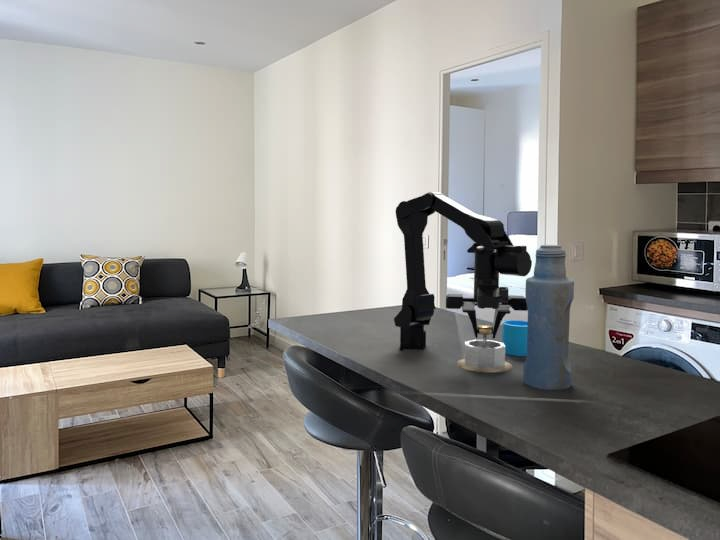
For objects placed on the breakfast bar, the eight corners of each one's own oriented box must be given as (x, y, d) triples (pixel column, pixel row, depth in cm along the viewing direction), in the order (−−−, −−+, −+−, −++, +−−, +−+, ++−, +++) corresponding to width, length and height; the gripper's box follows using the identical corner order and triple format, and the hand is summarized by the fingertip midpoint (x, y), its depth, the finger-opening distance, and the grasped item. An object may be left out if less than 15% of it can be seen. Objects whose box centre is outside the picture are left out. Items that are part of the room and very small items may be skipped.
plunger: (472, 359, 132) (473, 328, 131) (470, 353, 138) (471, 323, 137) (498, 360, 131) (499, 329, 130) (496, 354, 137) (496, 324, 136)
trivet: (457, 373, 129) (457, 370, 129) (455, 358, 142) (455, 356, 142) (515, 375, 127) (515, 373, 127) (508, 360, 140) (508, 358, 140)
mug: (539, 357, 144) (540, 325, 143) (510, 358, 142) (511, 326, 142) (517, 346, 156) (518, 317, 155) (489, 347, 154) (490, 318, 153)
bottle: (565, 395, 113) (571, 247, 110) (516, 387, 119) (521, 245, 116) (575, 383, 121) (581, 244, 118) (529, 376, 127) (533, 243, 124)
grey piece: (465, 369, 131) (466, 347, 130) (463, 355, 143) (463, 336, 142) (506, 370, 129) (506, 349, 129) (500, 357, 141) (501, 337, 141)
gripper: (446, 275, 126) (445, 344, 127) (533, 277, 123) (530, 347, 125) (446, 270, 137) (445, 333, 138) (525, 272, 134) (523, 336, 136)
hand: (484, 337), depth 134 cm, fingers closed on plunger, 4 cm apart
